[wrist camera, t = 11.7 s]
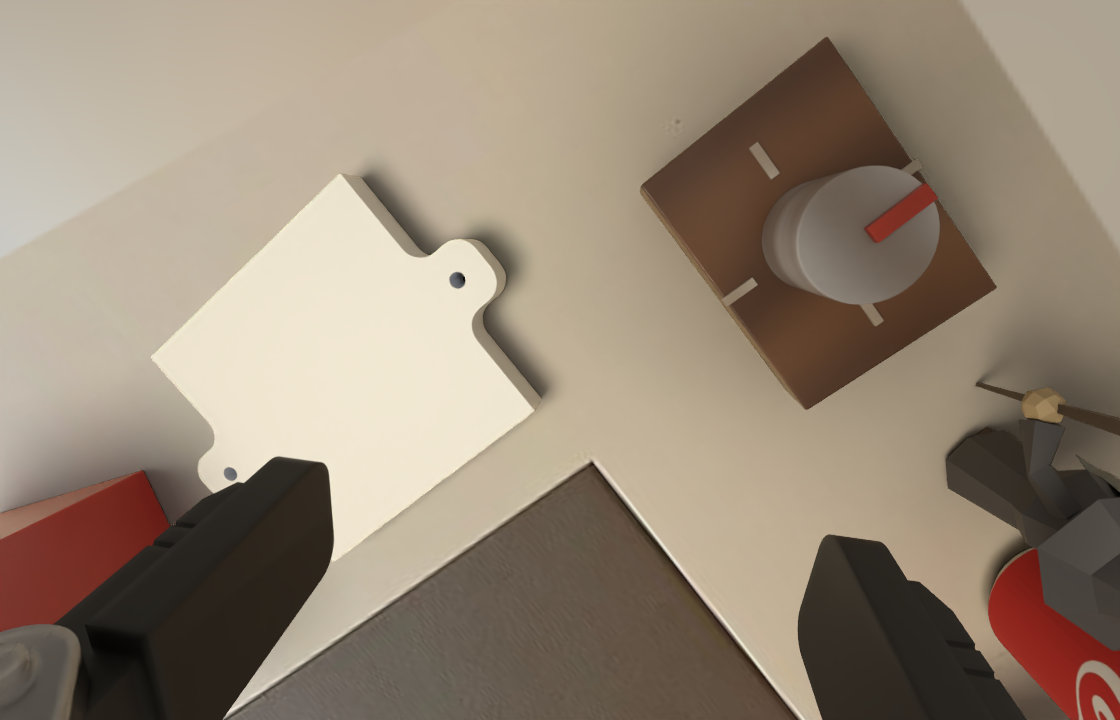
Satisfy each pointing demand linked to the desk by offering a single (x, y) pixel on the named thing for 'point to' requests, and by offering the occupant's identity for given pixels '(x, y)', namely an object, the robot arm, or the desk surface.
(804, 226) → the knob
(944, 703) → the robot arm
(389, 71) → the desk surface
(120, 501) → the toaster
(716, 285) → the dial panel
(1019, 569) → the beverage can
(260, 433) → the mounting plate
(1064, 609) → the wizard figurine
